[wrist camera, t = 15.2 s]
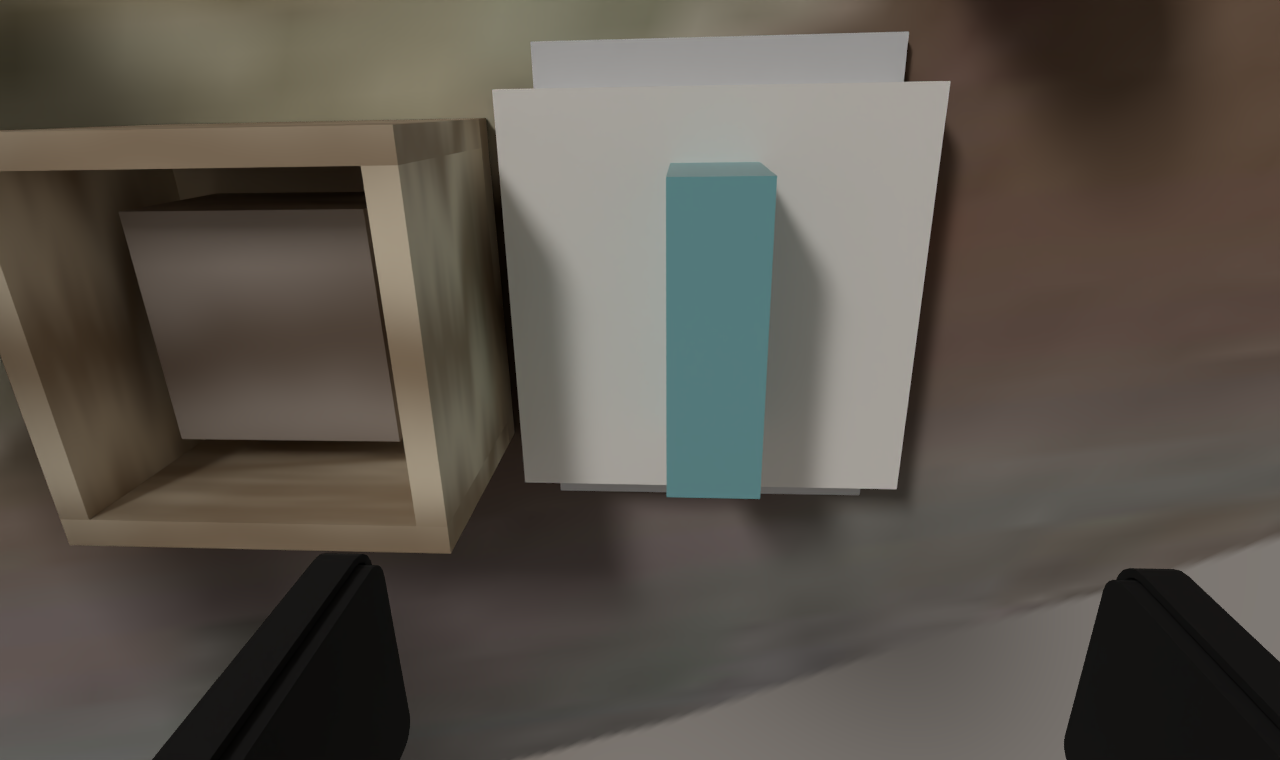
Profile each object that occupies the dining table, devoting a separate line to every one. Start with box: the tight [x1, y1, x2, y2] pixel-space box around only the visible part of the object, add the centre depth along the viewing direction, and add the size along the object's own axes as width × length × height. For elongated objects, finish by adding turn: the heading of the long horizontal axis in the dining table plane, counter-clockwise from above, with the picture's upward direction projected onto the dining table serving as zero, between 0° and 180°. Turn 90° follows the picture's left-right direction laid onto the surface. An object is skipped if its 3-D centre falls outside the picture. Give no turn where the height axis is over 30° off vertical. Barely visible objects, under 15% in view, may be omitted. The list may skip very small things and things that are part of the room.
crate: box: [0, 118, 515, 554], centre depth 25 cm, size 13×13×9 cm
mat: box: [531, 32, 909, 495], centre depth 28 cm, size 18×13×1 cm
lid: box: [492, 81, 951, 499], centre depth 24 cm, size 15×15×7 cm
